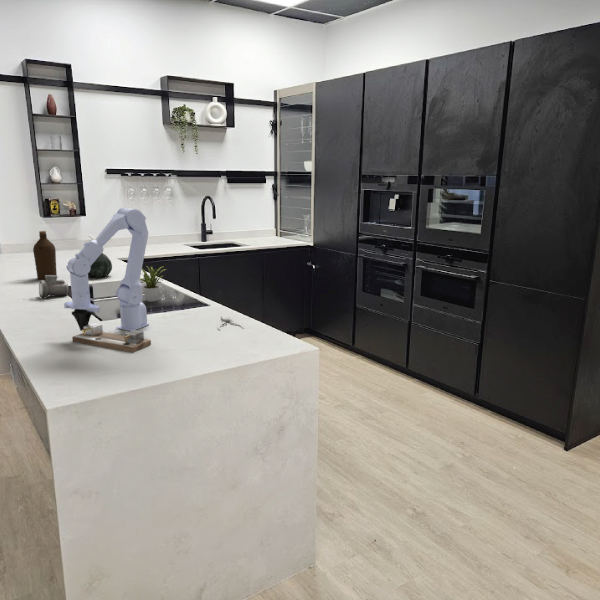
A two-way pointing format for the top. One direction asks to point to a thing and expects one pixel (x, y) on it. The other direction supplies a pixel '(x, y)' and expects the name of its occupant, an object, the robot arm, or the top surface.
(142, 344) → the gauge board
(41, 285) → the pipe fitting
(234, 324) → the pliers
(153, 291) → the house plant
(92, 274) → the squash
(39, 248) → the olive oil
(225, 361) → the top surface
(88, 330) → the block
